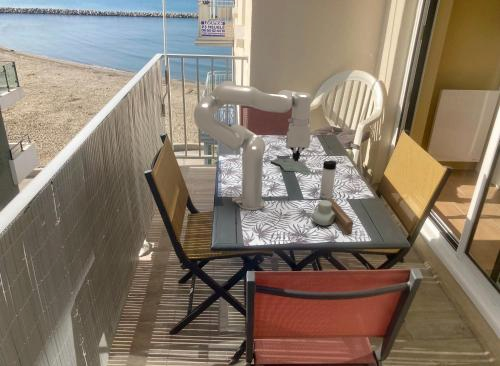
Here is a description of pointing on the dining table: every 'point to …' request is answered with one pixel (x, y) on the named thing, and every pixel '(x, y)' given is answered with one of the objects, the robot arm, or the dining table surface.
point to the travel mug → (327, 179)
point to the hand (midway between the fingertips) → (295, 160)
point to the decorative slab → (292, 166)
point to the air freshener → (323, 213)
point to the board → (341, 218)
